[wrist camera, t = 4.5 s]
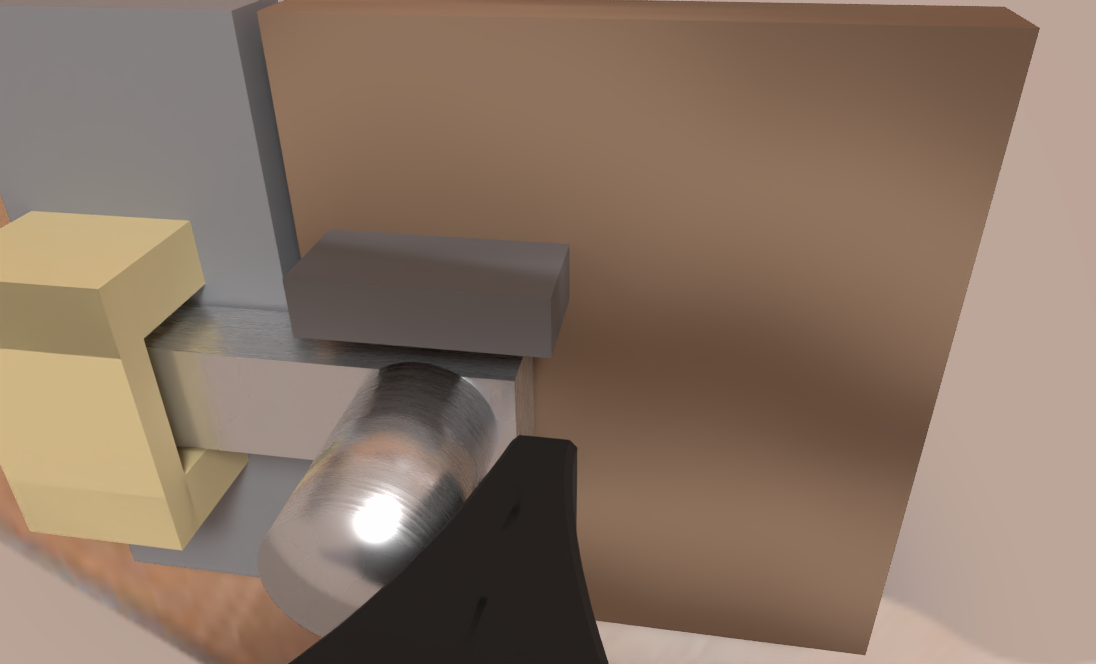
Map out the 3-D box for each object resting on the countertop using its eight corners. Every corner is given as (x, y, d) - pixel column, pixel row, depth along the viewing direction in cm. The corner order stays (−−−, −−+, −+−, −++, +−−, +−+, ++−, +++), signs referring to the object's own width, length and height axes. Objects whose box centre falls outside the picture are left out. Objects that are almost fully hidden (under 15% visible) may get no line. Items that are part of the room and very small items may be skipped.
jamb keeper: (366, 539, 20) (294, 686, 16) (170, 515, 20) (62, 652, 17) (276, -6, 13) (130, 47, 10) (1, -12, 14) (-222, 37, 11)
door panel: (854, 597, 18) (880, 737, 15) (382, 541, 20) (328, 658, 17) (1004, 7, 12) (1094, 61, 9) (299, -6, 13) (191, 37, 11)
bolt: (534, 435, 15) (467, 663, 11) (86, 392, 17) (-125, 581, 12) (532, 321, 14) (455, 529, 10) (47, 284, 15) (-200, 453, 11)
